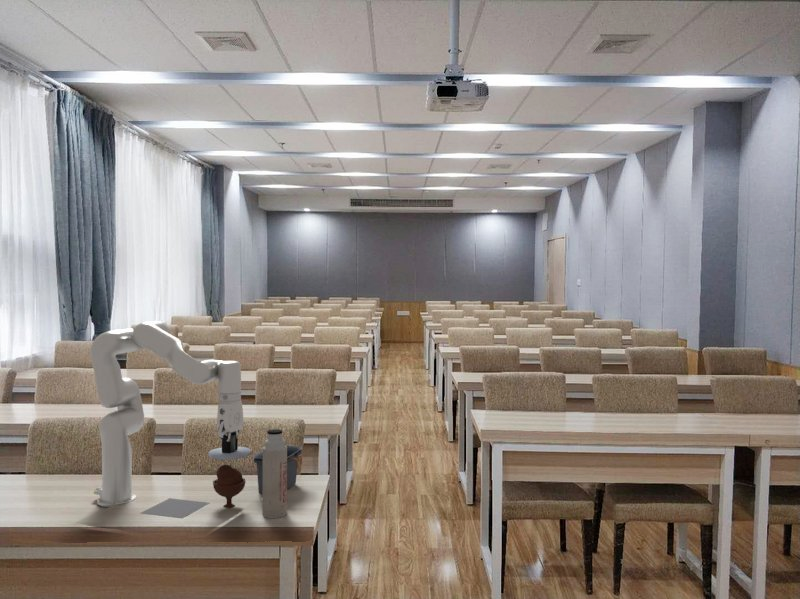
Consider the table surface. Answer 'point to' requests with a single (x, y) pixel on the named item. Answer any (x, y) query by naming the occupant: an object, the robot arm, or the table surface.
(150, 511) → the mat
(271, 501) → the thermos bottle
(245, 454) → the lid
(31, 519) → the table surface
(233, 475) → the ice cream bowl
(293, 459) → the storage bin
